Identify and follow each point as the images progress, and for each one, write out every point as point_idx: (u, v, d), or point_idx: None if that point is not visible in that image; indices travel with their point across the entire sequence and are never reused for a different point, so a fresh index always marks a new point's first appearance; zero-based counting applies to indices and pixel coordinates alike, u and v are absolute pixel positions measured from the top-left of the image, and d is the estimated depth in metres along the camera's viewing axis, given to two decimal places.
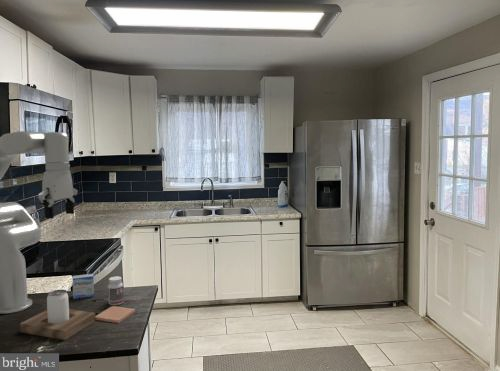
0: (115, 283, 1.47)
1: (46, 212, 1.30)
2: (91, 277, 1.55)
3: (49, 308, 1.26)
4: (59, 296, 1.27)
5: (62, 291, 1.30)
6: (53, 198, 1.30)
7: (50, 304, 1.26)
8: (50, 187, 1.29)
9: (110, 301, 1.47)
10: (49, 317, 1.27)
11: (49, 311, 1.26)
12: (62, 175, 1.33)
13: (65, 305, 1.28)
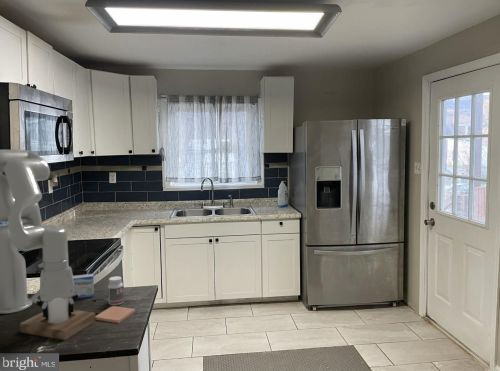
0: (115, 283, 1.47)
1: None
2: (91, 277, 1.55)
3: (49, 308, 1.26)
4: None
5: None
6: None
7: (50, 304, 1.26)
8: None
9: (110, 301, 1.47)
10: (49, 317, 1.27)
11: (49, 311, 1.26)
12: None
13: (65, 305, 1.28)
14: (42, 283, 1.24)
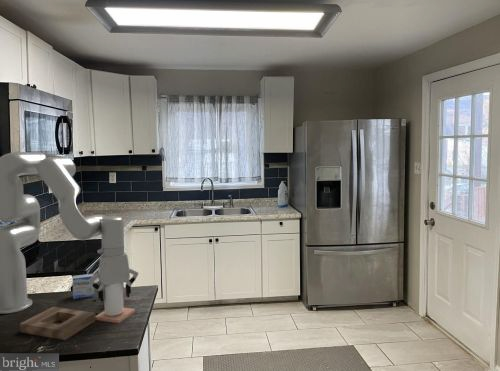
0: None
1: None
2: None
3: (106, 295, 1.35)
4: (115, 284, 1.35)
5: None
6: None
7: (107, 291, 1.34)
8: None
9: None
10: (106, 304, 1.35)
11: (106, 298, 1.35)
12: None
13: (121, 293, 1.37)
14: (102, 268, 1.32)
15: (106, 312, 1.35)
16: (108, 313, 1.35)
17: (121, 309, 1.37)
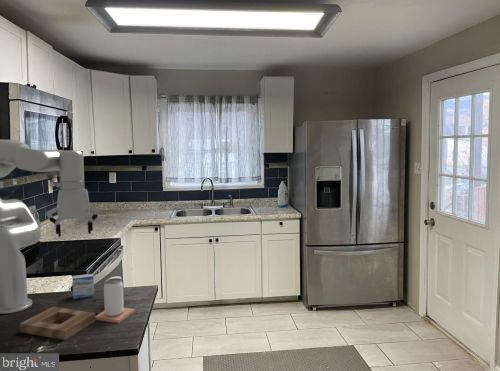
0: None
1: None
2: (91, 277, 1.55)
3: (106, 295, 1.35)
4: (115, 284, 1.35)
5: (117, 280, 1.39)
6: None
7: (107, 291, 1.34)
8: None
9: None
10: (106, 304, 1.35)
11: (106, 298, 1.35)
12: None
13: (121, 293, 1.37)
14: (60, 201, 1.29)
15: (106, 312, 1.35)
16: (108, 313, 1.35)
17: (121, 309, 1.37)
